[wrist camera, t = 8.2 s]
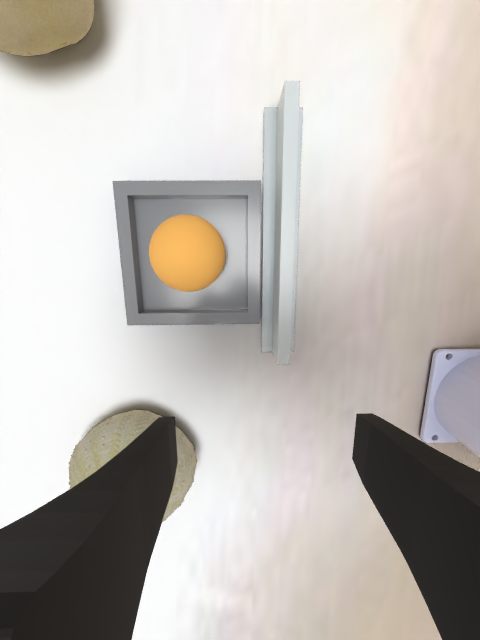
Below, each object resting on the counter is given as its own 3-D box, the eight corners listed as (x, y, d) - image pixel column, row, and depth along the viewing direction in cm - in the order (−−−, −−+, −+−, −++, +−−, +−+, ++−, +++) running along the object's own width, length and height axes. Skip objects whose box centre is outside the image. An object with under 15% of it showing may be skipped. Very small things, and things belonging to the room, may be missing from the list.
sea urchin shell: (43, 433, 20) (70, 477, 14) (141, 383, 25) (190, 400, 20) (87, 530, 22) (126, 602, 16) (169, 464, 27) (221, 502, 22)
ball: (225, 220, 18) (224, 208, 14) (226, 287, 19) (225, 296, 15) (157, 219, 18) (134, 207, 14) (161, 287, 19) (141, 296, 15)
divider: (301, 110, 17) (315, 80, 14) (292, 349, 21) (301, 364, 18) (263, 110, 17) (269, 80, 14) (261, 350, 21) (265, 365, 18)
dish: (258, 187, 18) (260, 180, 17) (257, 318, 20) (259, 323, 19) (123, 188, 18) (112, 181, 16) (136, 319, 20) (127, 325, 18)
